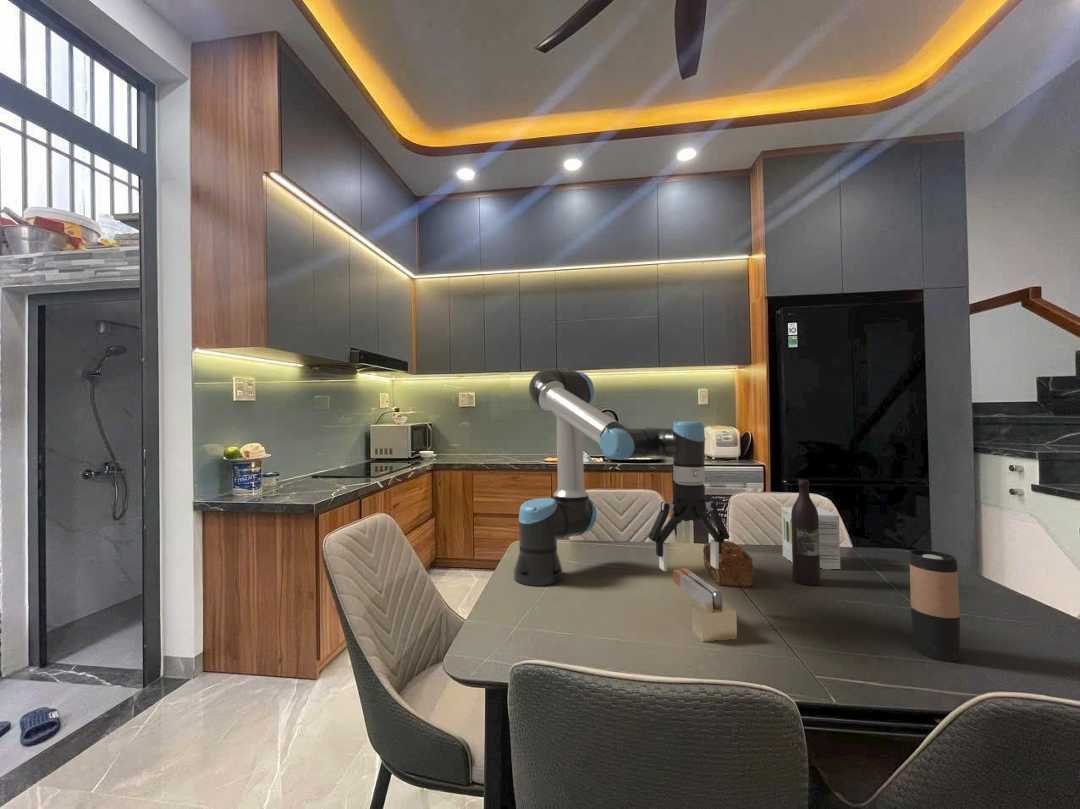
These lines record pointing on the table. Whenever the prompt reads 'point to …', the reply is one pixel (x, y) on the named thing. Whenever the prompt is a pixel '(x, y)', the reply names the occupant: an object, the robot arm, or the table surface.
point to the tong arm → (715, 593)
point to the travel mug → (935, 604)
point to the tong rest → (707, 612)
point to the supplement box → (827, 537)
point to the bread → (731, 565)
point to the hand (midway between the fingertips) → (688, 568)
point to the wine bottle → (805, 538)
